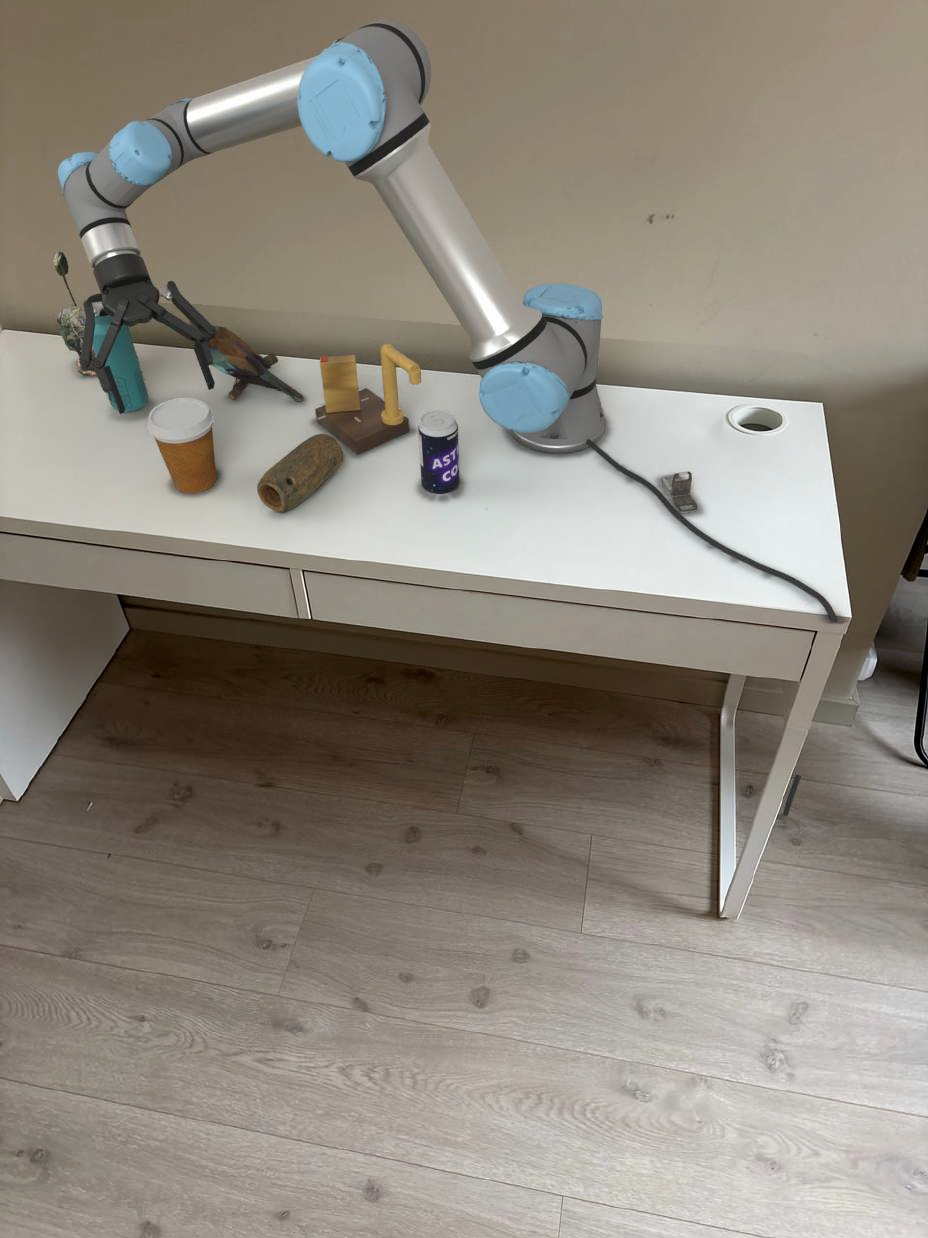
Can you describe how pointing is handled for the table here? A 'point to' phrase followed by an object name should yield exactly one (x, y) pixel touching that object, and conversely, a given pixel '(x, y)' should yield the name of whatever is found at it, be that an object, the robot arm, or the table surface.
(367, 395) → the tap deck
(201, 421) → the disposable coffee cup
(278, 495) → the brown cylindrical piece
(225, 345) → the bird figurine
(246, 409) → the table surface
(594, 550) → the table surface
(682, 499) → the strap clip
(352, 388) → the tap handle
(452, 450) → the beverage can
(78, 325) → the plant with pod
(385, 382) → the tap spout
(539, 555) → the table surface
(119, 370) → the beverage bottle
